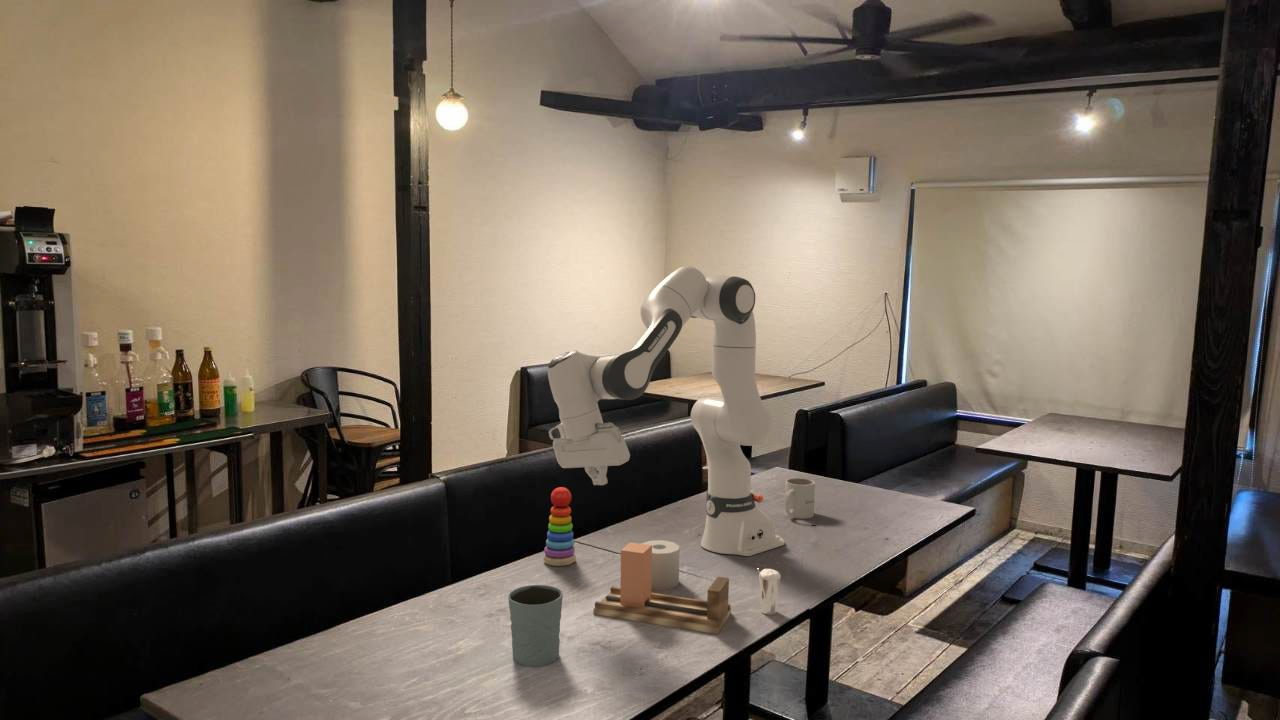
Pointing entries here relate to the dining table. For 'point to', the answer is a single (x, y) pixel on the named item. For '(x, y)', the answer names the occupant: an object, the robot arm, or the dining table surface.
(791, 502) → the mug
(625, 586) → the panel
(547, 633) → the green cup
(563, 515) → the stacking toy
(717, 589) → the channel
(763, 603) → the milkshake
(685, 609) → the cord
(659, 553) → the toilet tissue
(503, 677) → the dining table surface
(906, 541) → the dining table surface
